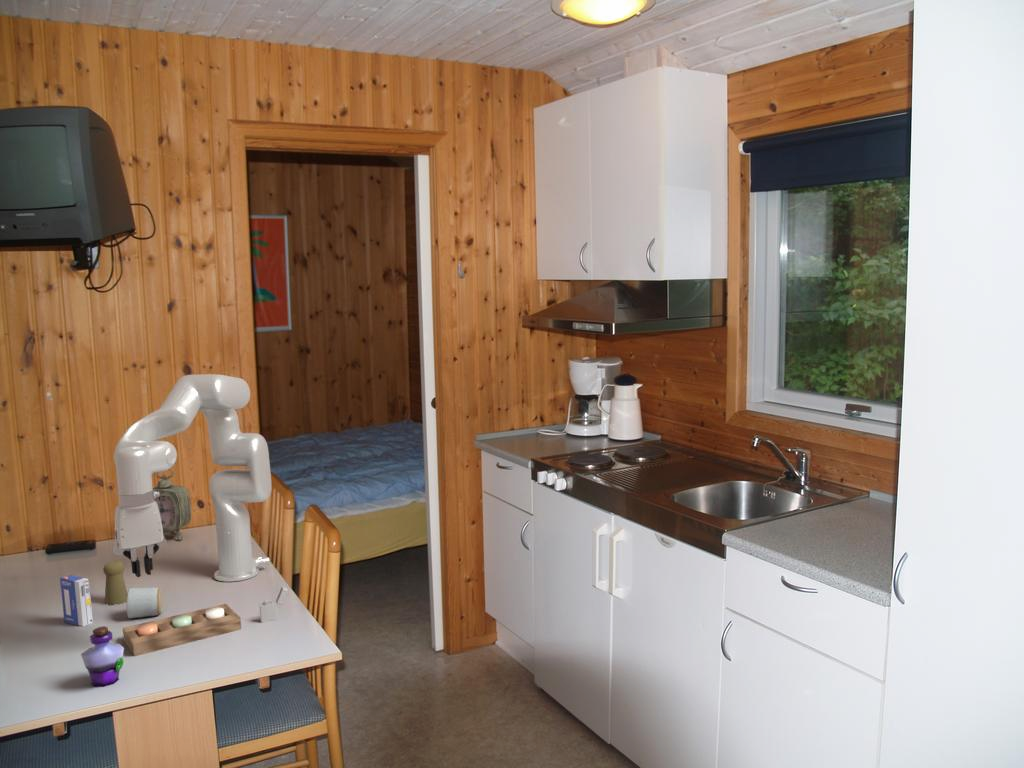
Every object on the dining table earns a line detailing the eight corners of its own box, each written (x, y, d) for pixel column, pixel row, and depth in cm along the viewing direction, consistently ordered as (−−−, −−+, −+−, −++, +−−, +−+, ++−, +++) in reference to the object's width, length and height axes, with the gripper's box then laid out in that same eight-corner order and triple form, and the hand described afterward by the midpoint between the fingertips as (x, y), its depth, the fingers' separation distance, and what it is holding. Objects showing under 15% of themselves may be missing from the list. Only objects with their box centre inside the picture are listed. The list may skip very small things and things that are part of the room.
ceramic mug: (161, 618, 228) (159, 589, 227) (127, 622, 226) (125, 593, 225) (166, 605, 238) (163, 577, 238) (133, 609, 236) (131, 581, 235)
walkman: (64, 621, 228) (59, 576, 227) (74, 617, 231) (69, 573, 229) (83, 626, 224) (78, 581, 223) (93, 622, 227) (88, 577, 225)
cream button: (221, 615, 225) (221, 606, 224) (226, 620, 221) (226, 611, 221) (204, 619, 222) (203, 610, 222) (209, 624, 219) (208, 615, 218)
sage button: (189, 623, 220) (188, 613, 220) (194, 628, 217) (193, 619, 216) (171, 627, 218) (170, 618, 217) (175, 633, 214) (174, 623, 214)
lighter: (261, 622, 223) (259, 592, 222) (260, 620, 225) (258, 590, 224) (289, 617, 226) (287, 587, 225) (288, 615, 228) (286, 585, 227)
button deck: (226, 614, 229) (225, 603, 229) (241, 629, 219) (240, 617, 219) (123, 639, 215) (122, 627, 215) (134, 656, 205) (133, 643, 205)
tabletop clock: (142, 541, 298) (136, 469, 295) (157, 534, 307) (151, 463, 304) (182, 542, 296) (176, 469, 293) (196, 534, 305) (190, 463, 302)
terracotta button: (155, 631, 216) (154, 621, 215) (160, 636, 212) (159, 627, 212) (136, 635, 213) (135, 626, 213) (140, 641, 210) (139, 632, 209)
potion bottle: (124, 686, 190) (119, 633, 188) (80, 693, 187) (74, 639, 186) (129, 669, 198) (124, 618, 197) (87, 676, 196) (82, 624, 194)
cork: (119, 605, 239) (115, 566, 237) (99, 604, 240) (96, 565, 238) (133, 597, 244) (129, 559, 243) (113, 596, 246) (110, 558, 244)
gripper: (167, 491, 216) (173, 563, 218) (97, 502, 207) (104, 577, 209) (175, 496, 210) (181, 571, 212) (103, 508, 201) (110, 586, 203)
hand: (142, 574), depth 211 cm, fingers closed
